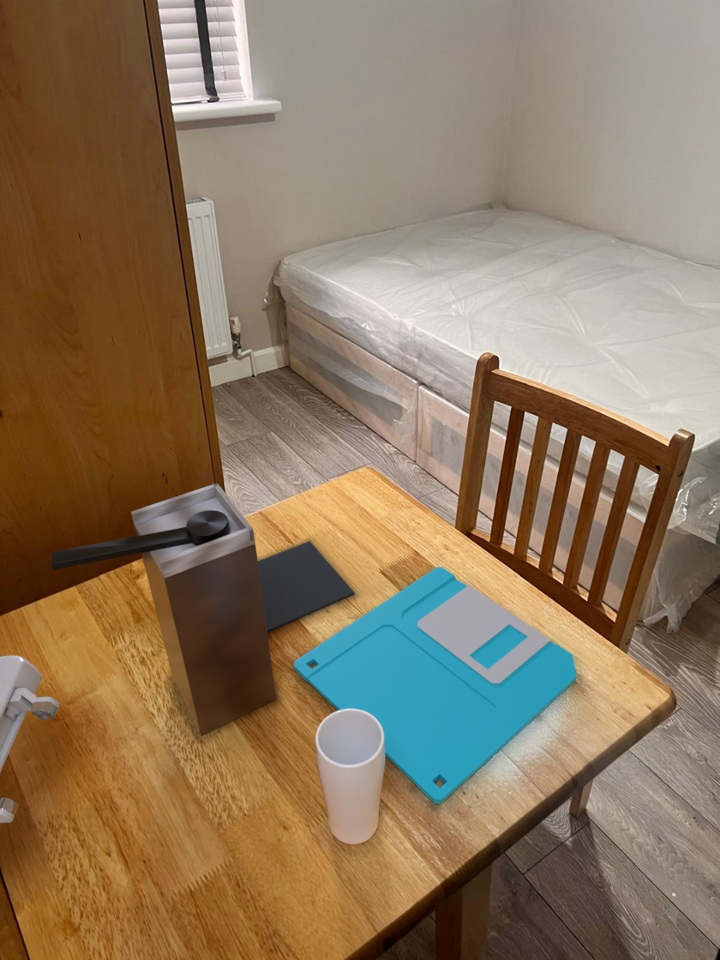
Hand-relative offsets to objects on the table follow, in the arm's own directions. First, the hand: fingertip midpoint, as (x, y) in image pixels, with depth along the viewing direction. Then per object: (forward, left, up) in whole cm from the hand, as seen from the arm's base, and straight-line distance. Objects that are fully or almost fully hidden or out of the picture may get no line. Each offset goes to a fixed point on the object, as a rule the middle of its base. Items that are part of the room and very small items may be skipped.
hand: (33, 756), depth 66 cm
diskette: (+46, 0, -17) cm, 49 cm away
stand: (+21, +12, -17) cm, 30 cm away
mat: (+32, +25, -17) cm, 44 cm away
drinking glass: (+26, -12, -18) cm, 34 cm away
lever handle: (+15, +13, +9) cm, 21 cm away
